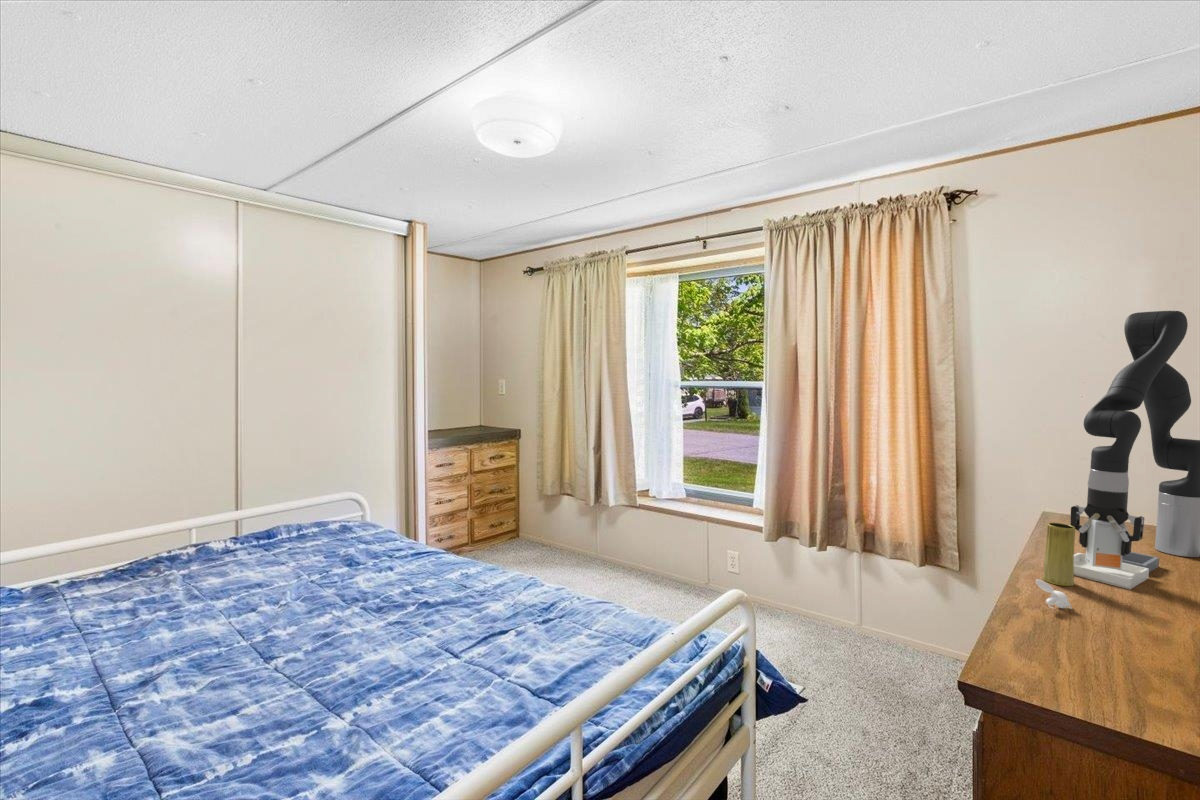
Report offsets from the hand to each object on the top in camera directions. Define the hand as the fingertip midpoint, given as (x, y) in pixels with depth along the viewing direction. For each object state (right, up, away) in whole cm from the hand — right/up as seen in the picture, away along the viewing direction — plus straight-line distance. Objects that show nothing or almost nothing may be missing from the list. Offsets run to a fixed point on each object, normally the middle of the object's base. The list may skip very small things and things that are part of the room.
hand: (1104, 550), depth 140 cm
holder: (+13, -6, +8) cm, 16 cm away
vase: (-16, -7, -5) cm, 18 cm away
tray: (0, -6, 0) cm, 6 cm away
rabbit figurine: (-30, -7, -19) cm, 36 cm away
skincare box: (0, -4, 0) cm, 4 cm away
